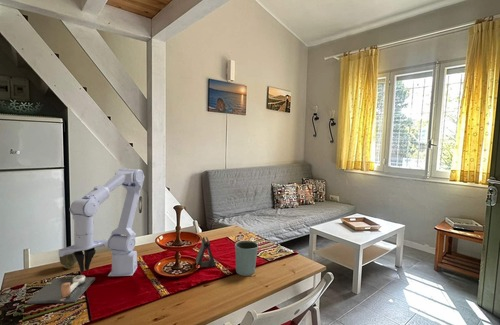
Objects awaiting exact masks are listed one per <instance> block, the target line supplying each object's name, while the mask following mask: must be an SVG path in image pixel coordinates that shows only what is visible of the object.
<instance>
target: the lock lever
mask: <svg viewBox="0 0 500 325" xmlns="http://www.w3.org/2000/svg"><path fill="white" fill-rule="evenodd" d="M72 278H73V284H72V285H71V286H70V283H69V282H68V283H64V284H62V285H61V296H62V297H67V296H69V295H70V294H71V292H72V291H73V290H74V289H75V288H76V287H77V286H78V285H79V284H82V283H84V282H85V278H86V276H85V275H84V274H80V275H77V276H75V277H72Z"/></svg>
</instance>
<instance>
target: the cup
mask: <svg viewBox="0 0 500 325" xmlns="http://www.w3.org/2000/svg"><path fill="white" fill-rule="evenodd" d="M57 252H58V253H59V250H58V251H57ZM58 258H59V262H60V264H61V265H62V266H63V268H64V269H65V270H71V269H73V268H74V267H75V264H76V263H78V261H77V259H76V257H75V256H74V254H73V253H72V254H67V255H64V256H62V257H60V256H59V255H58Z"/></svg>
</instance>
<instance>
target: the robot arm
mask: <svg viewBox="0 0 500 325" xmlns="http://www.w3.org/2000/svg"><path fill="white" fill-rule="evenodd" d="M144 181H145V174H144V171H143V170H142V169H139V168H138V169H133V168H124V167H121V168H119V169H117V170H116V171H115V173H114V176H112V178H110V179H109V180H108V181H107V182H106V183H105V184H104V185H98V186H97V185H96V186H94V187H93V189H92V190H90V192H88V193H87V194H85V195H83V197H81V198H76V199H75V200H74V201H73V202H71V205H70V207H69V210H68V211H69V212H70V214H71V215H72V219H73V228H74V229H73V231H74V233H73V234H74V236H73V237H74V239H73V242H74V243H73V245H70V246H67V247H64V248H60V249H58V251H59V252H58V257H59V256H60V257H62V256H64V255H67V254H72V253H73V254H74V256H75V257H76V259H77V264H78V266H79V271H80V272H81V273H84V272H85V271H86V272H87V271H89V270H90V265H91V262H92V260H93V258H94V256H95V254H96V249H97V248H101V247H107V248H108V250H110V253H111V270H110V272H109V273H108V275H107V277H126V276H127V277H129V276H130V277H131V276H132V277H133V275H134V273H136V271H137V268H138V251H137V250H134V249H135V246H136V241H137V240H136V236H137V233H136V232H135V231H134V230H133V224H134V221H135V216H136V211H137V208H138V204H139V199H140V195H141V190H142V189H143V185H144ZM120 186H122V187H123V188H124V189H125V191H126V195H125V198H124V199H125V200H124V202H123V205H122V206H123V207H122V210H121V214H120V219H119V222H118V227H116V228H115V229H114V230H112V231H111V233H110V234H111V235H110V236H109V238H108V239H102V240H99V239H98V240H94V215H95V214H96V213H97V211H98V209H99V208H100V206H101V205H102V204H103V203H104V202H105V201H106V200H107V199H109V198H110V193H111V192H113V191H115V189H116V188H117V189H118V188H119V187H120Z"/></svg>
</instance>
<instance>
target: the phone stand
mask: <svg viewBox="0 0 500 325" xmlns="http://www.w3.org/2000/svg"><path fill="white" fill-rule="evenodd" d="M206 250H207V254H208V257H209V260H203V258H204V255H205V252H206ZM213 255H214V254H213V253H212V250H211V243H210V241H209V238H208V237H207V236H206V237H205V236H204V237H202V238H201V245H200V248H199V250H198V252H197V255H196V258H195V260H196V263H197V265H200V266H201V268H200V269H204V268H203V267H206V268H214V267H213V266H216V267H217V264H216V261H215V259H214V256H213Z"/></svg>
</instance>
